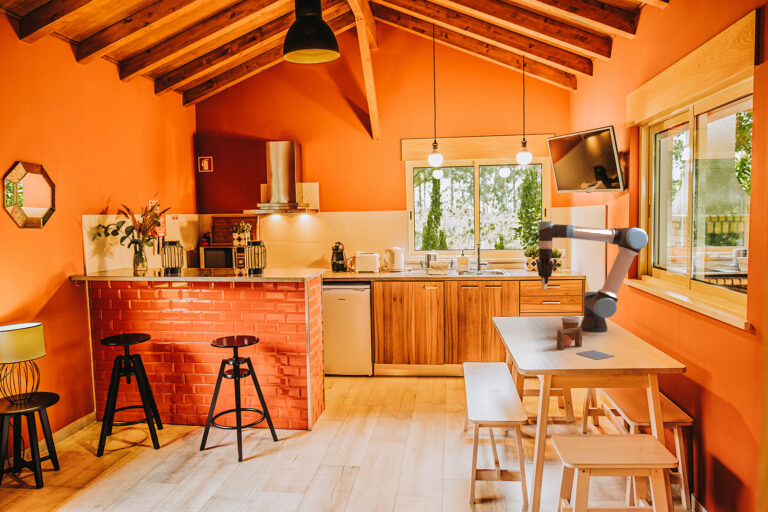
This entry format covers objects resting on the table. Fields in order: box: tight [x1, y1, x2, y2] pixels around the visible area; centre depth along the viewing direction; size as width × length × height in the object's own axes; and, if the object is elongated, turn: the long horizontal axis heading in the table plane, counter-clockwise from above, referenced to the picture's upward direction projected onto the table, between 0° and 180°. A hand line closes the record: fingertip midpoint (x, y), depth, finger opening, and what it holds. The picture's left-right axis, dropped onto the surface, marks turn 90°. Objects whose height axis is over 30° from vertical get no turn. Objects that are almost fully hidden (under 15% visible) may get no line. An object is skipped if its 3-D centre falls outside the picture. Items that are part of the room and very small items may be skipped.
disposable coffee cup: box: [561, 315, 581, 341], centre depth 288 cm, size 10×10×12 cm
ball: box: [564, 335, 573, 348], centre depth 271 cm, size 6×6×6 cm
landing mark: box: [575, 349, 615, 361], centre depth 255 cm, size 13×13×1 cm
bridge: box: [556, 326, 583, 351], centre depth 268 cm, size 3×15×10 cm, turn 118°
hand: (544, 288), depth 299 cm, fingers closed
